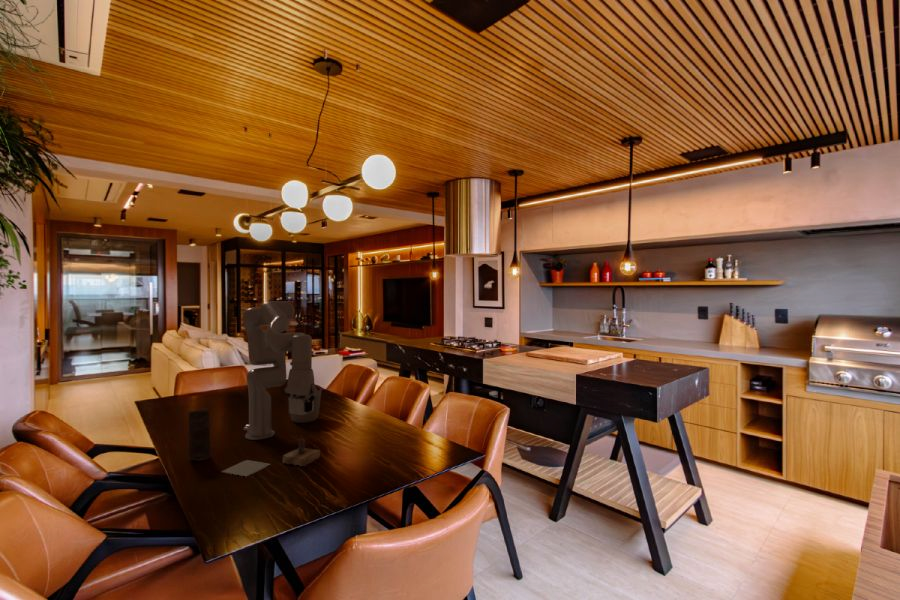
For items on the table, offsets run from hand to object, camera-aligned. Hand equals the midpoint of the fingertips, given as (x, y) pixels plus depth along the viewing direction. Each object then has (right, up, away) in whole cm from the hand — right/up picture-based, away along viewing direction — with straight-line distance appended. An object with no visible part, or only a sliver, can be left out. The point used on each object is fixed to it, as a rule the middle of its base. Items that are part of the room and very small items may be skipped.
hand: (301, 410), depth 171 cm
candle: (-41, -20, +1) cm, 46 cm away
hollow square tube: (0, -1, 0) cm, 1 cm away
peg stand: (0, -20, 0) cm, 20 cm away
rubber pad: (-18, -20, -9) cm, 28 cm away
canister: (-17, -20, +55) cm, 61 cm away
